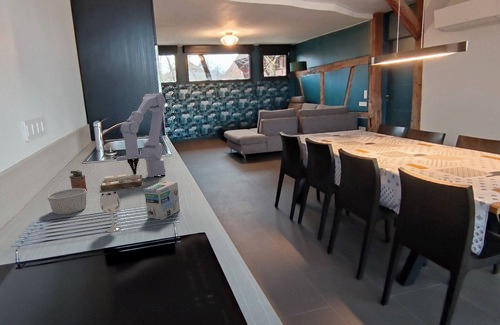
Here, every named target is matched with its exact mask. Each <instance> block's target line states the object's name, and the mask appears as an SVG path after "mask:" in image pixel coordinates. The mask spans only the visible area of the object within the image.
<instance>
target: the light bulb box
mask: <svg viewBox="0 0 500 325" xmlns="http://www.w3.org/2000/svg"><path fill="white" fill-rule="evenodd" d="M143 190H144V191H143V192H144V198H145V206H146V207H145V208H146V216H147V219H150V218H155V219H154V220H158V219H160V220H161V221H164V220H166V219H168V218H169V217H171V216H172V214H173V215H174V213H175V214H176V213H178V212H180V211H181V209H180V208H181V206H180V205H181V204H180V197H179V186H178V182H175V181H165V180H164V181H161V182H158V183H155V184H152V185H150V186H148V187H145V188H143ZM170 215H171V216H170ZM168 216H169V217H168ZM163 219H164V220H163Z"/></svg>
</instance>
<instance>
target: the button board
mask: <svg viewBox="0 0 500 325" xmlns="http://www.w3.org/2000/svg"><path fill="white" fill-rule="evenodd" d="M114 180H115V181H114V182H117V181H118V177H114ZM127 180H131V176H130V175H129V176H128V175H127ZM132 180H134V179H132ZM142 180H144V179H143V174H140V181H137V182H128V183H120V184H111V185H102V184H103V183H107V182H105V181H104V180H103V181H102V183H101V184H100V186H99V187H100V192H110V191H116V190H125V189H133V188H132V187H134V188H141V187H140V186H142V187H143V181H142ZM123 181H126V180H123Z"/></svg>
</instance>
